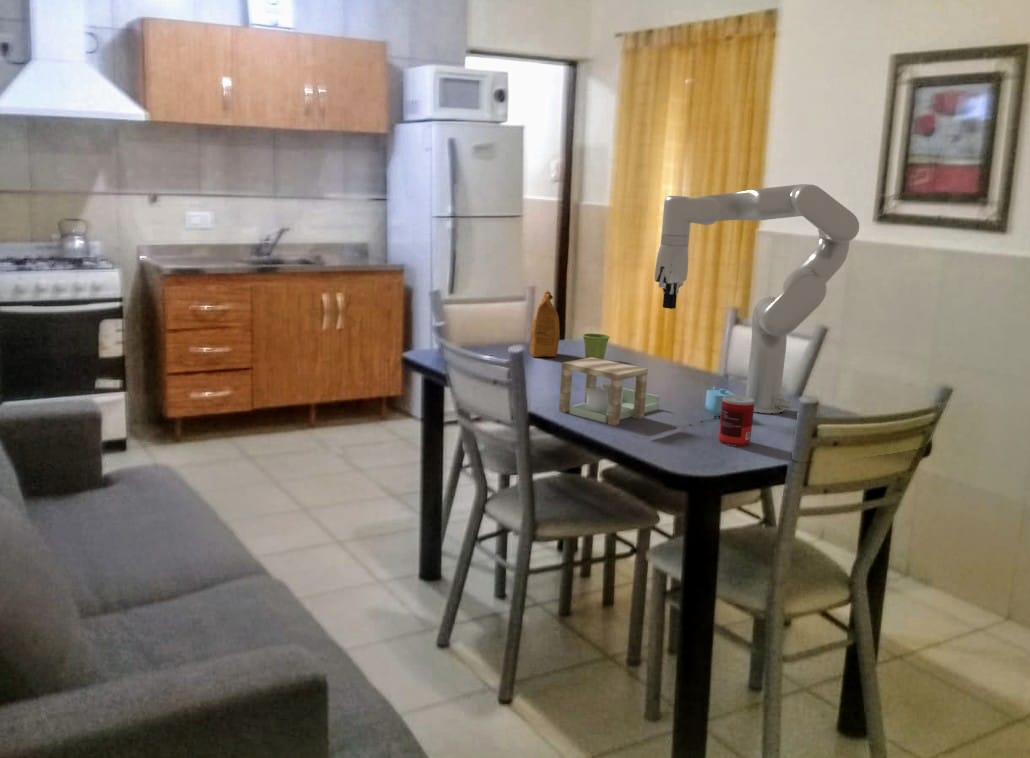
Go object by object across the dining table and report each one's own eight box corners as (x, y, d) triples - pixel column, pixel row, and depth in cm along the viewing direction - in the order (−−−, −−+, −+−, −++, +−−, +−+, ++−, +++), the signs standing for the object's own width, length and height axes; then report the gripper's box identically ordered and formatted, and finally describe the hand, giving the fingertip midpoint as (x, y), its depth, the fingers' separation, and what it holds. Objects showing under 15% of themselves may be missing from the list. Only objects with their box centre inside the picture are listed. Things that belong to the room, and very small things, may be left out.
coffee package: (557, 352, 346) (561, 290, 341) (558, 359, 334) (562, 295, 329) (529, 351, 346) (533, 289, 341) (529, 357, 334) (532, 293, 329)
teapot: (700, 409, 272) (702, 383, 270) (720, 410, 273) (723, 383, 272) (716, 420, 260) (718, 393, 259) (737, 421, 262) (740, 393, 260)
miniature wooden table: (643, 421, 256) (647, 368, 253) (614, 429, 246) (618, 374, 243) (588, 407, 267) (592, 357, 264) (558, 414, 257) (562, 362, 255)
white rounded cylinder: (610, 416, 255) (612, 390, 253) (598, 419, 251) (600, 392, 249) (594, 412, 258) (595, 386, 257) (581, 415, 254) (583, 388, 253)
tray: (658, 411, 266) (659, 396, 265) (606, 425, 248) (607, 408, 247) (621, 403, 274) (623, 387, 273) (568, 416, 256) (569, 399, 255)
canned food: (745, 438, 244) (749, 395, 241) (753, 447, 236) (758, 403, 234) (714, 437, 243) (719, 394, 241) (722, 446, 236) (726, 401, 233)
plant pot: (576, 357, 338) (578, 333, 337) (602, 357, 341) (603, 333, 339) (586, 363, 330) (588, 337, 328) (612, 363, 332) (614, 337, 331)
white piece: (625, 412, 260) (627, 386, 258) (612, 415, 256) (614, 389, 254) (610, 408, 263) (611, 383, 262) (597, 411, 260) (598, 385, 258)
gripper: (677, 240, 276) (672, 304, 280) (648, 241, 265) (642, 308, 269) (700, 242, 271) (694, 308, 275) (671, 243, 260) (665, 311, 264)
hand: (669, 307), depth 272 cm, fingers closed
